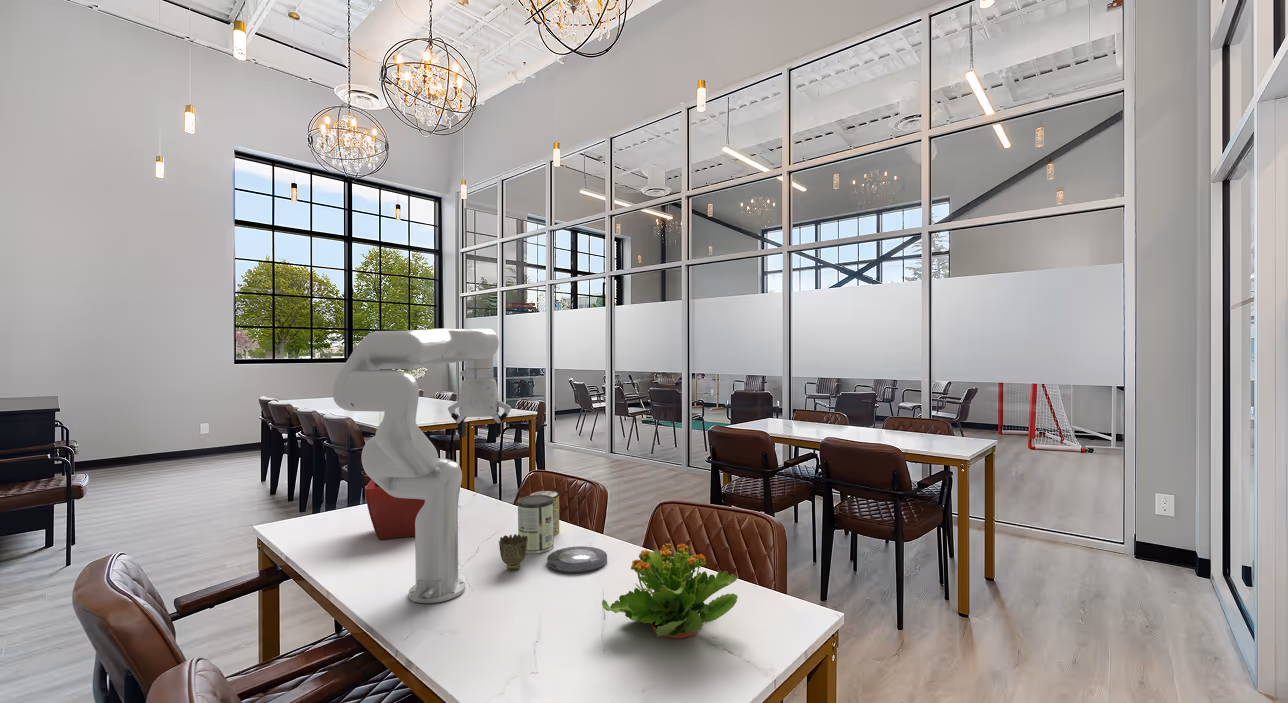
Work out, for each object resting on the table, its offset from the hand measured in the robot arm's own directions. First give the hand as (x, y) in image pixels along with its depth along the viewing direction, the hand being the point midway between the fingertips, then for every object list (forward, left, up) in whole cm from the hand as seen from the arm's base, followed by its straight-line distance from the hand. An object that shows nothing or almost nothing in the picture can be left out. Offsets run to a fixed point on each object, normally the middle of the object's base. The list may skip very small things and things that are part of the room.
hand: (479, 437), depth 156 cm
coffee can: (+9, -13, -34) cm, 37 cm away
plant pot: (+22, +33, -34) cm, 52 cm away
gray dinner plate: (-2, -27, -33) cm, 43 cm away
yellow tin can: (+22, -13, -34) cm, 42 cm away
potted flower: (-37, -54, -34) cm, 74 cm away
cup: (-7, -11, -34) cm, 36 cm away
